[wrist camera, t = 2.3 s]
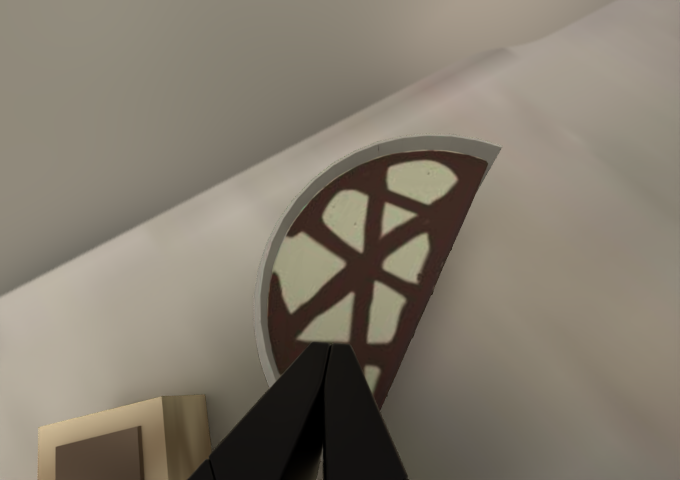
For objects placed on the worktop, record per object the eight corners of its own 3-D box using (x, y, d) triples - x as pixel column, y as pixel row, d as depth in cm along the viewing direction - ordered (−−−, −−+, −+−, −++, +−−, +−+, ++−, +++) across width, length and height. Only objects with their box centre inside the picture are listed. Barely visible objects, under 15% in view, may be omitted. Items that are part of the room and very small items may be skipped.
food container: (353, 192, 25) (348, 73, 15) (449, 234, 24) (508, 133, 14) (247, 387, 21) (158, 386, 12) (354, 447, 20) (349, 499, 11)
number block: (217, 503, 20) (169, 542, 15) (114, 530, 20) (29, 579, 15) (205, 394, 21) (158, 396, 16) (109, 418, 21) (32, 428, 16)
